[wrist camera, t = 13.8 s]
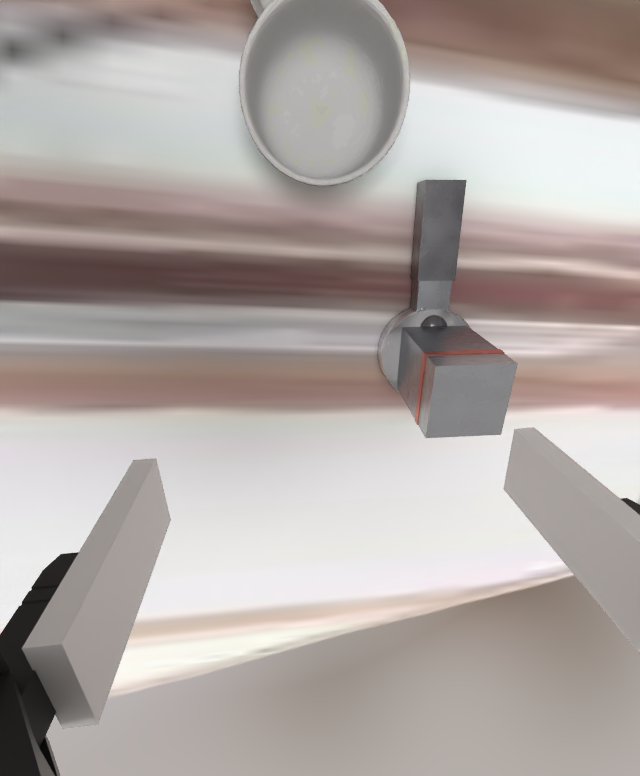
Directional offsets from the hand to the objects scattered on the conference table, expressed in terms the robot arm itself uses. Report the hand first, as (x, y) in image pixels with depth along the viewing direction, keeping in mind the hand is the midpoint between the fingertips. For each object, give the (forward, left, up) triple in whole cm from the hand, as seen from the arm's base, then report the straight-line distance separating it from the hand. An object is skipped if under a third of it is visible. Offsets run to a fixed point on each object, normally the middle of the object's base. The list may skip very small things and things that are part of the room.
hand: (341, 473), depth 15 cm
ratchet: (-2, +11, -25) cm, 28 cm away
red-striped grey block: (+3, +11, -23) cm, 26 cm away
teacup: (-18, 0, -26) cm, 31 cm away
